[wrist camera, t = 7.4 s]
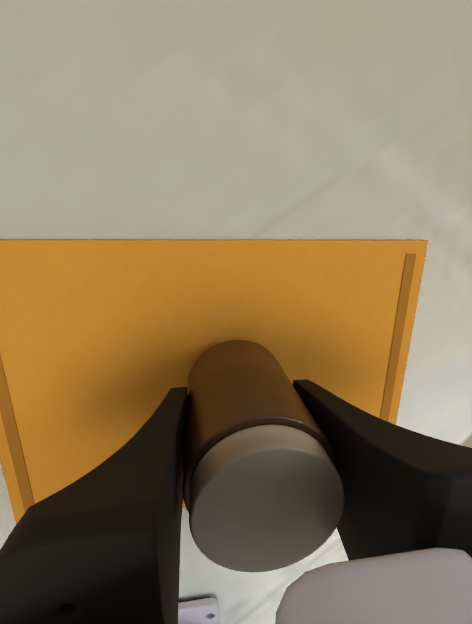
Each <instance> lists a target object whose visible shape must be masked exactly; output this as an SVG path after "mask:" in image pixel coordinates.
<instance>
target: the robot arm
mask: <svg viewBox="0 0 472 624" xmlns="http://www.w3.org/2000/svg"><path fill="white" fill-rule="evenodd" d="M293 386H294V388H295V389H296V391H297V393H298V394H299V396H300V397H301V399H302V401H303V402H304V404H305V405H306V407H307V409H308V410H309V412H310V413H311V415H312V417H313V418H314V420H315V421H316V423H317V424H318V426H319V428H320V429H321V431H322V432H323V434H324V436H325V437H326V439H327V440H328V442H329V444H330V446H331V448H332V450H333V453H334V457H335V463H336V470H337V471H338V473H339V475H340V477H341V479H342V483H343V486H344V495H345V501H344V509H343V513H342V516H341V519H340V521H339V523H338V525H337V529H338V532H339V535H340V537H341V540H342V543H343V546H344V548H345V551H346V554H347V556H348V559H349V561H344V562H337V563H330V564H327V565H324V566H321V567H318V568H315V569H313V570H310V571H307V572H305V573H304V574H303V575H301V576H300V577H299V578H298V579H297V580H295V581H294V582H293V583H292V584H291V585H290V586H288V587H287V589H286V591H285V593H284V595H283V597H282V600H281V602H280V605H279V607H278V609H277V612H276V622H275V624H472V448H469V447H465V446H461V445H457V444H453V443H449V442H446V441H442V440H438V439H435V438H432V437H428V436H425V435H422V434H419V433H416V432H413V431H411V430H408V429H405V428H402V427H400V426H397V425H394V424H392V423H390V422H387V421H385V420H383V419H380V418H378V417H376V416H374V415H371V414H369V413H367V412H365V411H363V410H362V409H360V408H358V407H356V406H354V405H352V404H350V403H348V402H346V401H345V400H343V399H341V398H339V397H338V396H336V395H334V394H333V393H331V392H329V391H328V390H326V389H324V388H322V387H321V386H319V385H317V384H316V383H314V382H312V381H310V380H308V379H303V380H293ZM186 414H187V387H177V388H171V389H170V390H169V391H168V393H167V394H166V396H165V398H164V399H163V401H162V402H161V403H160V405H159V406H158V408H157V409H156V410H155V411H154V413H153V414H152V415H151V417H150V418H149V419H148V420H147V421H146V423H145V424H144V425H143V426H142V427H141V428H140V429H139V431H138V432H137V433H136V434H135V435H134V436H133V437H132V438H131V439H130V440H129V441H128V442H127V443H126V444H125V445H123V446H122V447H121V448H120V449H119V450H118V451H116V452H115V453H114V454H113V455H111V456H110V457H109V458H108V459H106V460H105V461H104V462H102V463H101V464H100V465H99V466H97V467H96V468H94V469H93V470H91V471H90V472H88V473H87V474H86V475H84V476H82V477H81V478H79V479H78V480H76V481H75V482H73V483H71V484H70V485H68V486H66V487H65V488H63V489H61V490H59V491H58V492H56V493H54V494H52V495H50V496H49V497H47V498H45V499H43V500H41V501H39V502H38V503H36V504H34V505H32V506H30V507H29V508H28V509H27V510H26V512H25V513H24V515H23V516H22V518H21V519H20V520H19V522H18V523H17V524H16V526H15V527H14V529H13V530H12V532H11V534H10V535H9V537H8V538H7V540H6V542H5V543H4V545H3V547H2V548H1V550H0V624H218V602H217V600H216V599H215V598H205V599H199V600H192V601H186V602H180V603H178V601H179V565H180V533H181V515H182V505H183V493H182V481H183V461H184V441H185V424H186Z"/></svg>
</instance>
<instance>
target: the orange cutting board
mask: <svg viewBox="0 0 472 624" xmlns="http://www.w3.org/2000/svg"><path fill="white" fill-rule="evenodd" d="M427 244H428V241H427V240H0V461H1V465H2V469H3V473H4V477H5V481H6V484H7V488H8V492H9V496H10V500H11V504H12V508H13V512H14V516H15V520H16V524H17V523H18V522H19V520H20V519H21V518H22V516H23V515H24V513H25V512H26V510H27V509H28V508H29V507H30V506H32V505H34V504H36V503H38V502H39V501H41V500H43V499H45V498H47V497H49V496H50V495H52V494H54V493H56V492H58V491H59V490H61V489H63V488H65V487H66V486H68V485H70V484H71V483H73V482H75V481H76V480H78V479H79V478H81V477H82V476H84V475H86V474H87V473H88V472H90V471H91V470H93V469H94V468H96V467H97V466H99V465H100V464H101V463H102V462H104V461H105V460H106V459H108V458H109V457H110V456H111V455H113V454H114V453H115V452H116V451H118V450H119V449H120V448H121V447H122V446H123V445H125V444H126V443H127V442H128V441H129V440H130V439H131V438H132V437H133V436H134V435H135V434H136V433H137V432H138V431H139V429H140V428H141V427H142V426H143V425H144V424H145V423H146V421H147V420H148V419H149V418H150V417H151V415H152V414H153V413H154V411H155V410H156V409H157V408H158V406H159V405H160V403H161V402H162V401H163V399H164V398H165V396H166V394H167V393H168V391H169V390H170V389H171V388H177V387H187V382H188V376H189V373H190V370H191V368H192V366H193V365H194V363H195V362H196V360H197V359H198V358H199V357H200V356H201V355H202V354H203V353H204V352H205V351H206V350H208V349H209V348H211V347H213V346H215V345H217V344H219V343H222V342H226V341H230V340H246V341H251V342H255V343H257V344H259V345H261V346H263V347H265V348H266V349H268V350H269V351H270V352H271V353H272V354H273V355H274V356H275V358H276V359H277V361H278V362H279V364H280V366H281V367H282V369H283V370H284V372H285V373H286V375H287V377H288V378H289V380H290V381H291V383H292V385H293V380H303V379H308V380H310V381H312V382H314V383H316V384H317V385H319V386H321V387H322V388H324V389H326V390H328V391H329V392H331V393H333V394H334V395H336V396H338V397H339V398H341V399H343V400H345V401H346V402H348V403H350V404H352V405H354V406H356V407H358V408H360V409H362V410H363V411H365V412H367V413H369V414H371V415H374V416H376V417H378V418H380V419H383V420H385V421H387V422H390V423H392V424H394V425H396V420H397V414H398V408H399V403H400V397H401V391H402V386H403V380H404V374H405V369H406V363H407V357H408V352H409V346H410V340H411V335H412V329H413V323H414V318H415V312H416V307H417V301H418V295H419V290H420V284H421V278H422V273H423V267H424V261H425V256H426V250H427ZM182 507H186V506H185V503H184V500H183V505H182Z"/></svg>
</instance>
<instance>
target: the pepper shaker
mask: <svg viewBox="0 0 472 624" xmlns="http://www.w3.org/2000/svg"><path fill="white" fill-rule="evenodd" d="M182 493H183V500H184V503H185V506H186V508H187V510H188V512H189V525H190V531H191V534H192V537H193V539H194V541H195V543H196V545H197V547H198V548H199V549H200V551H201V552H202V553H203V554H204V555H205V556H206V557H207V558H208V559H210V560H211V561H213V562H214V563H216V564H218V565H220V566H222V567H225V568H228V569H231V570H236V571H242V572H264V571H271V570H276V569H279V568H283V567H286V566H289V565H291V564H294V563H296V562H298V561H300V560H302V559H304V558H305V557H307V556H308V555H310V554H312V553H313V552H314V551H315V550H317V549H318V548H319V547H320V546H321V545H322V544H323V543H325V542H326V540H327V539H328V538H329V537H330V536H331V534H332V533H333V532H334V530H335V529H336V527H337V525H338V523H339V521H340V519H341V516H342V513H343V509H344V501H345V495H344V486H343V483H342V479H341V477H340V475H339V473H338V471H337V470H336V463H335V457H334V453H333V450H332V448H331V446H330V444H329V442H328V440H327V439H326V437H325V436H324V434H323V432H322V431H321V429H320V428H319V426H318V424H317V423H316V421H315V420H314V418H313V417H312V415H311V413H310V412H309V410H308V409H307V407H306V405H305V404H304V402H303V401H302V399H301V397H300V396H299V394H298V393H297V391H296V389H295V388H294V386H293V385H292V383H291V381H290V380H289V378H288V377H287V375H286V373H285V372H284V370H283V369H282V367H281V366H280V364H279V362H278V361H277V359H276V358H275V356H274V355H273V354H272V353H271V352H270V351H269V350H268V349H266V348H265V347H263V346H261V345H259V344H257V343H255V342H251V341H246V340H230V341H226V342H222V343H219V344H217V345H215V346H213V347H211V348H209V349H208V350H206V351H205V352H204V353H203V354H202V355H201V356H200V357H199V358H198V359H197V360H196V362H195V363H194V365H193V366H192V368H191V370H190V373H189V376H188V382H187V414H186V424H185V441H184V461H183V481H182Z"/></svg>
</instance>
